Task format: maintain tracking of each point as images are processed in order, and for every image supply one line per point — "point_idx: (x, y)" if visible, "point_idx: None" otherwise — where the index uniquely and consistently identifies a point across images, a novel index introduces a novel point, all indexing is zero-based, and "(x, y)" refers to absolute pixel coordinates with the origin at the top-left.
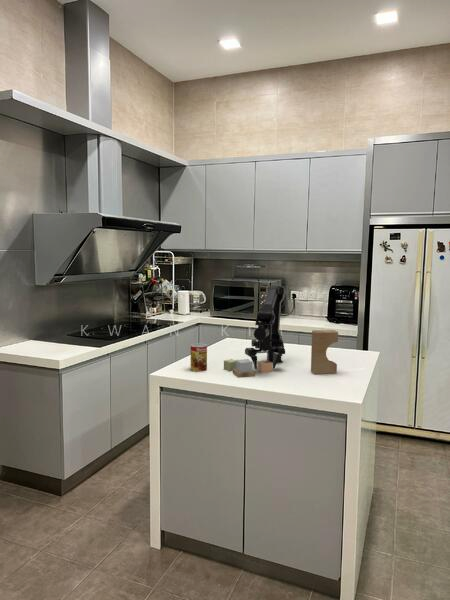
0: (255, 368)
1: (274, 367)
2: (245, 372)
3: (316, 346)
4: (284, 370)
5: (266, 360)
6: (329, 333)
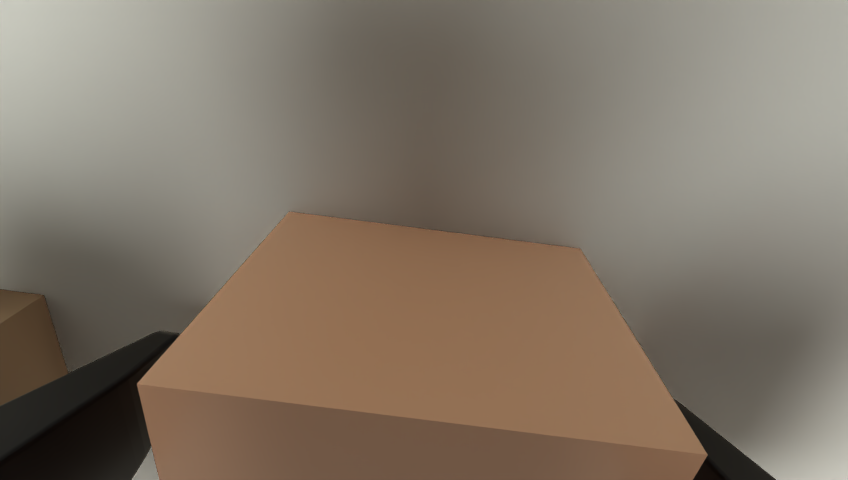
0: None
1: None
2: None
3: None
4: (813, 454)
5: (610, 464)
6: None
